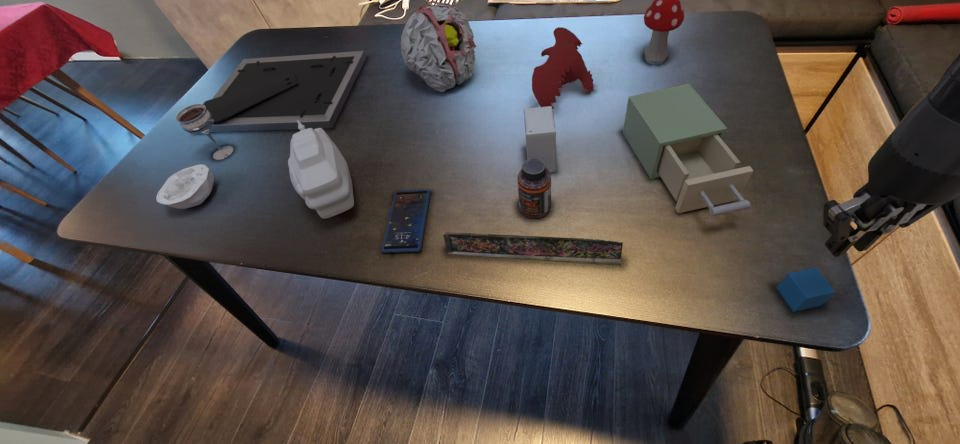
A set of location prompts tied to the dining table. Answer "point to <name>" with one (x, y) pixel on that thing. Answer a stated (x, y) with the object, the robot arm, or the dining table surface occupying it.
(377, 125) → the dining table surface
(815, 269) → the matte blue cube
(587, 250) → the incense holder
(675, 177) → the beige drawer
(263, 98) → the picture frame
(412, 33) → the decorative sculpture
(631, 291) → the dining table surface
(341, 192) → the white tiered sculpture
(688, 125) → the drawer cabinet
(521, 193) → the supplement bottle
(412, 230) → the smartphone
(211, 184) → the cell model
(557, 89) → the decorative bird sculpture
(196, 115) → the wineglass
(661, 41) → the decorative mushroom
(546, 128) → the small box
